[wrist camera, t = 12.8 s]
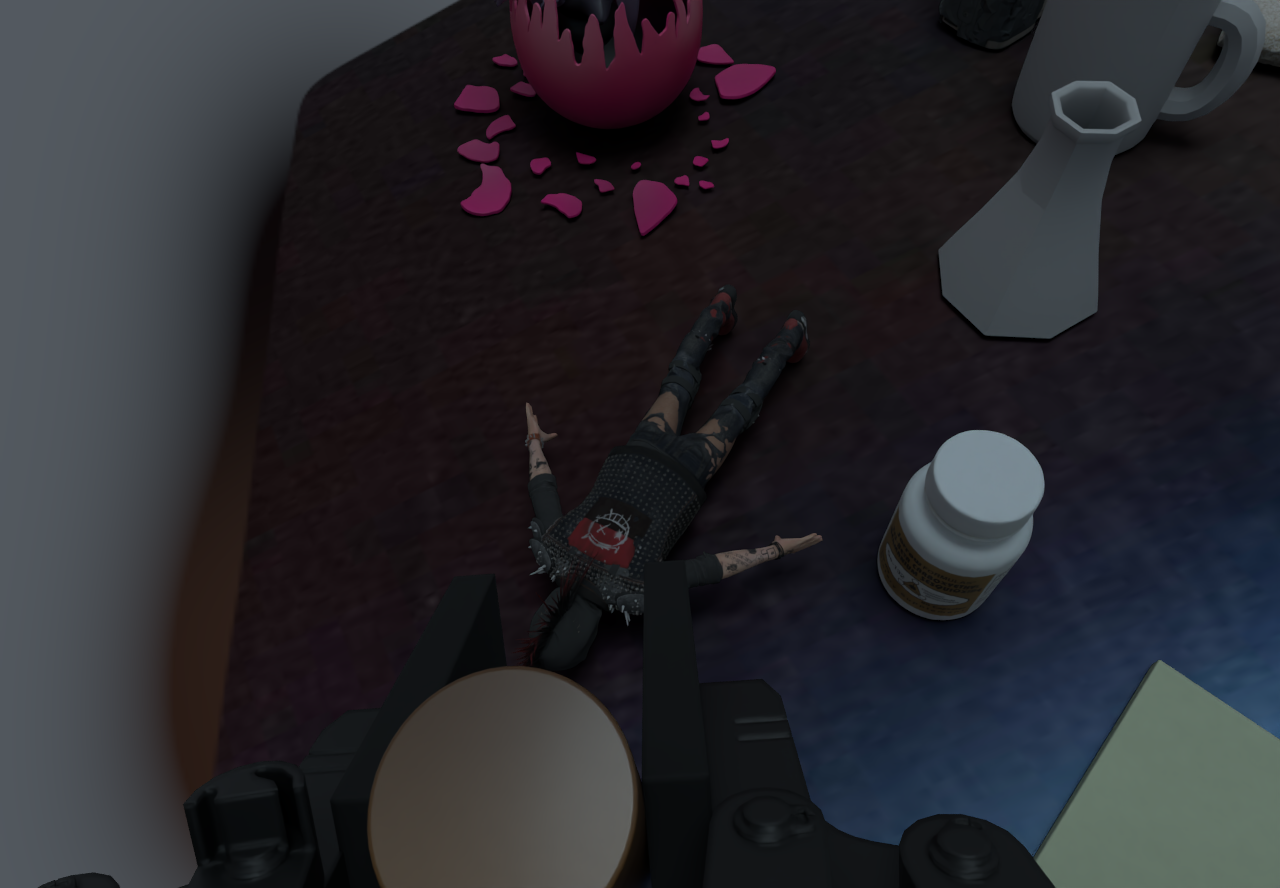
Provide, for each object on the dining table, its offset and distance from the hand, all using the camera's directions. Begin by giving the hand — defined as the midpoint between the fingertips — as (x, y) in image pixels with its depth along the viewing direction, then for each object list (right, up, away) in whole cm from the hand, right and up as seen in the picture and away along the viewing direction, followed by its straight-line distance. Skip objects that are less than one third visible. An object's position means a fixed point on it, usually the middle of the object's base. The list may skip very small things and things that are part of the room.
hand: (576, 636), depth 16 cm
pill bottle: (+13, -1, +18) cm, 22 cm away
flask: (+19, +11, +25) cm, 34 cm away
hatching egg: (-1, +22, +33) cm, 40 cm away
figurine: (+2, +1, +20) cm, 20 cm away
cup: (+26, +21, +31) cm, 45 cm away
